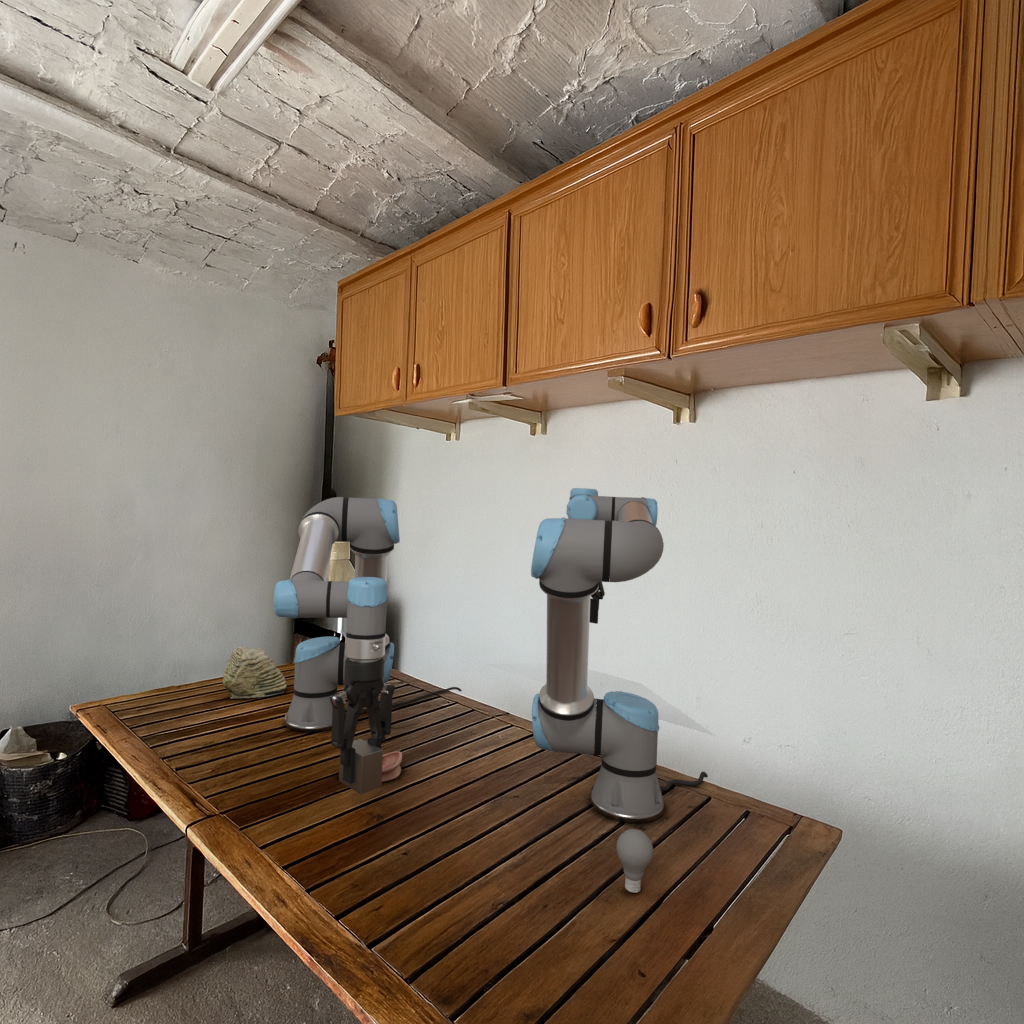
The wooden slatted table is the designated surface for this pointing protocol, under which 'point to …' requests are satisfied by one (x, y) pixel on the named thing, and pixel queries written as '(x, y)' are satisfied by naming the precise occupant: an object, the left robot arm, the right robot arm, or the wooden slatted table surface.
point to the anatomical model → (391, 765)
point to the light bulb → (634, 857)
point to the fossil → (252, 674)
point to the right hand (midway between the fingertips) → (578, 625)
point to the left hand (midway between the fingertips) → (360, 776)
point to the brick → (365, 767)
